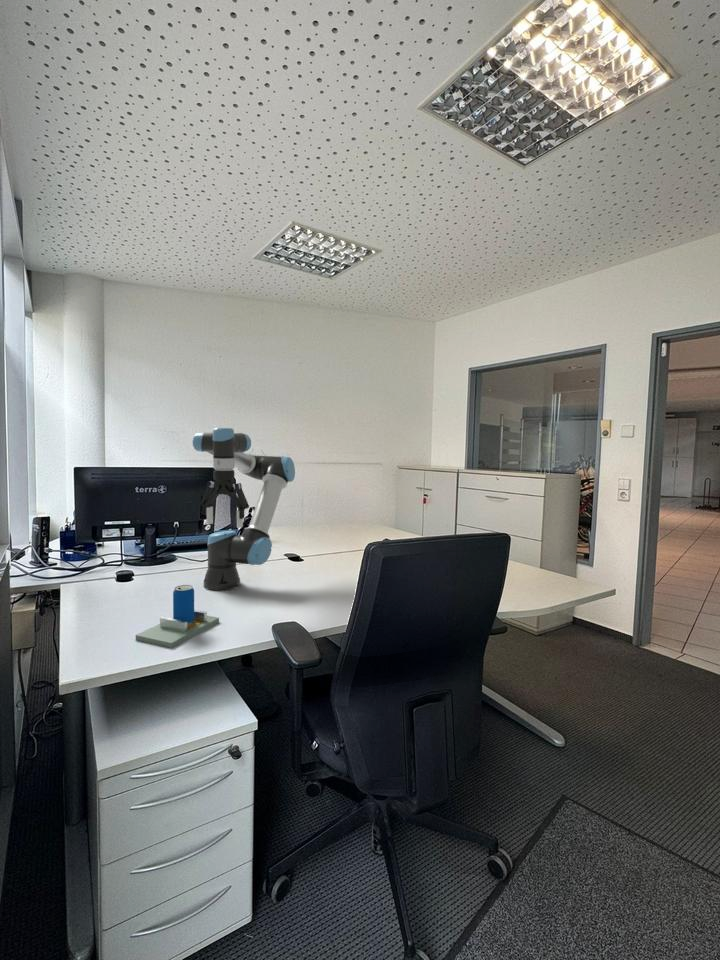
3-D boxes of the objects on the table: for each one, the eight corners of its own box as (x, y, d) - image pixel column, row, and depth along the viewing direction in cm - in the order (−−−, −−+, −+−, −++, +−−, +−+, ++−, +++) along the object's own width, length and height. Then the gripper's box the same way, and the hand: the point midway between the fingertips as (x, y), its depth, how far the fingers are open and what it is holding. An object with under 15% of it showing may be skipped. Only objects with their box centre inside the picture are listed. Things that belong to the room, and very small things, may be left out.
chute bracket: (159, 626, 147) (159, 617, 147) (183, 616, 157) (183, 607, 157) (184, 632, 144) (184, 622, 144) (206, 620, 154) (206, 612, 153)
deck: (135, 639, 141) (135, 635, 141) (186, 615, 161) (186, 611, 161) (171, 647, 136) (171, 643, 136) (218, 622, 157) (218, 617, 156)
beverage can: (176, 619, 153) (176, 584, 153) (196, 619, 154) (196, 584, 153) (170, 627, 147) (170, 590, 146) (191, 626, 148) (191, 590, 147)
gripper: (189, 468, 171) (191, 524, 173) (246, 471, 162) (246, 530, 164) (203, 467, 178) (204, 521, 180) (258, 470, 169) (258, 526, 171)
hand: (224, 525), depth 172 cm, fingers open, 13 cm apart
